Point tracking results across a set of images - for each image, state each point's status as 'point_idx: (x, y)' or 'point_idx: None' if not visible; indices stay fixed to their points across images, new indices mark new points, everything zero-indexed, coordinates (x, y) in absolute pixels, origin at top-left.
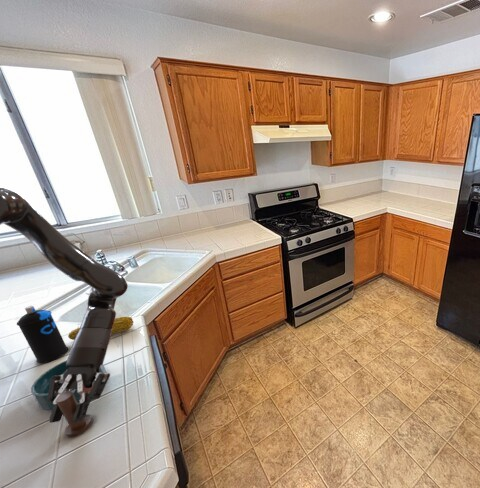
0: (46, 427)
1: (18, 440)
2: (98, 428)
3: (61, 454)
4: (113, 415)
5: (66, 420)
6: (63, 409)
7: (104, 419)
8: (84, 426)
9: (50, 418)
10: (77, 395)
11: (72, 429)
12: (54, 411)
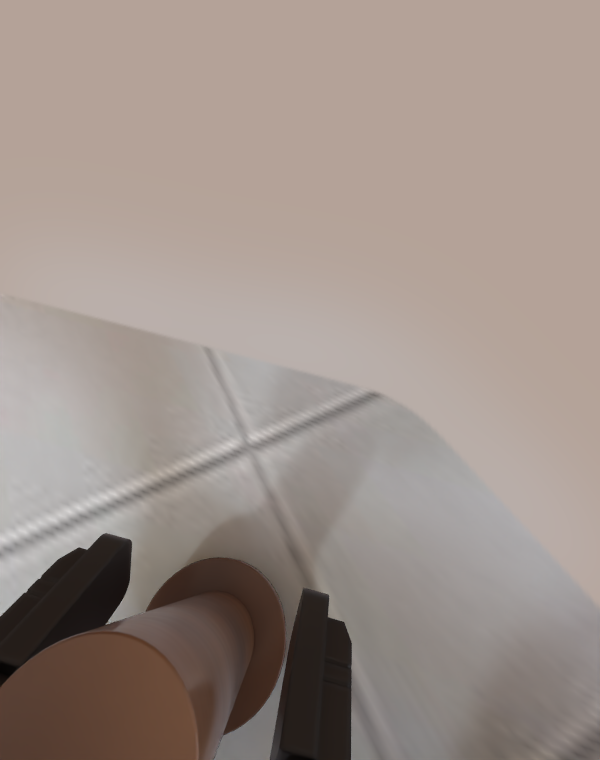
0: (464, 721)
1: (570, 649)
2: None
3: (238, 464)
4: None
5: (226, 608)
6: (163, 613)
7: None
8: (162, 601)
9: (339, 628)
10: None
11: (228, 593)
12: (306, 670)
